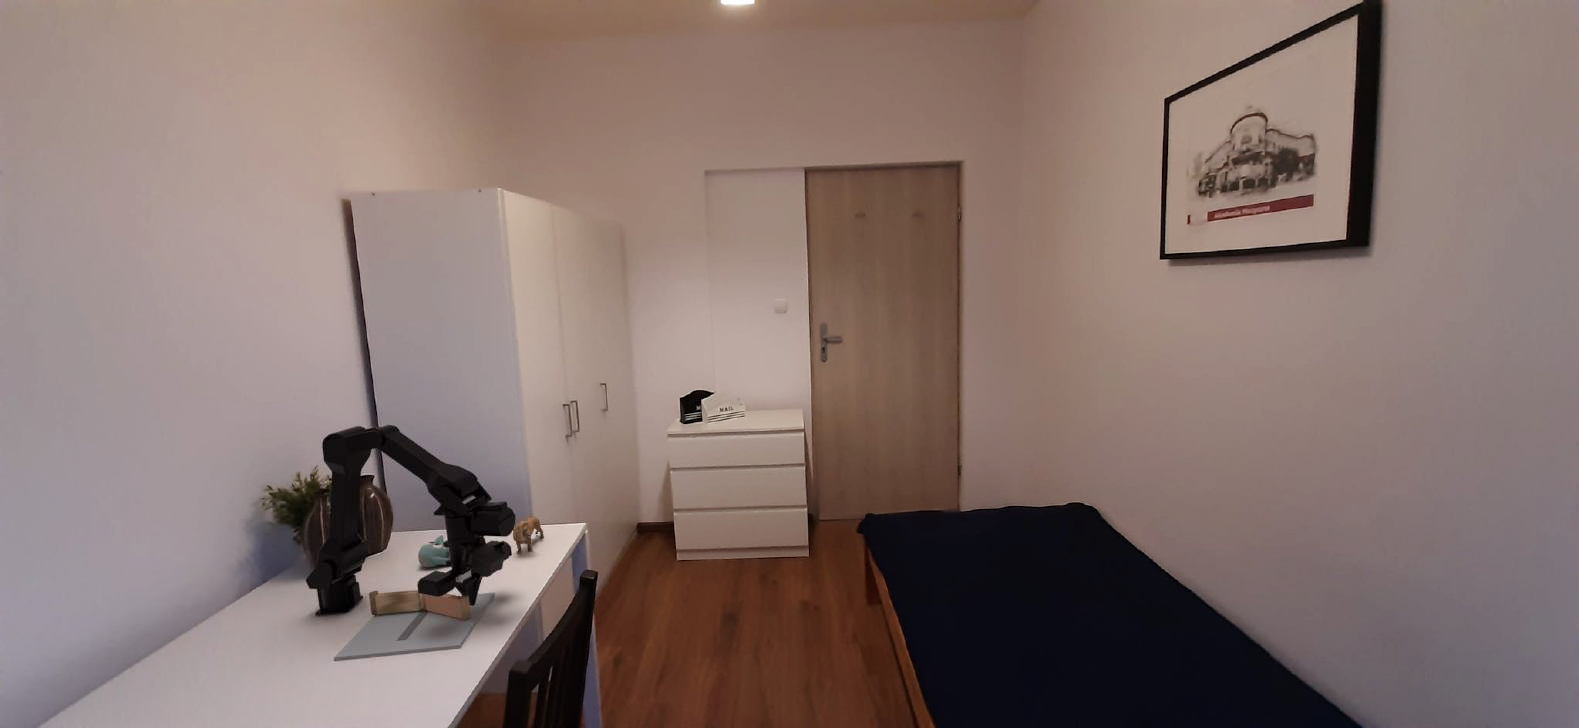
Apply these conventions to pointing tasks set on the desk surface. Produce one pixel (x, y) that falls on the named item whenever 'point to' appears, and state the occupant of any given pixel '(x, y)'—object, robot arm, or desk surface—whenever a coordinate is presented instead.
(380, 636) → the card
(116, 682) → the desk surface
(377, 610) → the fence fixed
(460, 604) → the fence panel
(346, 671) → the desk surface
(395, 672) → the desk surface
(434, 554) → the stuffed animal
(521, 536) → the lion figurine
